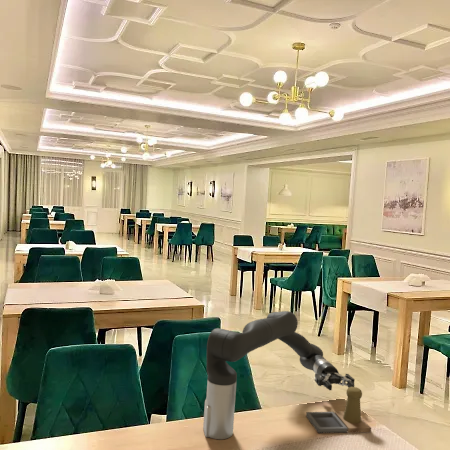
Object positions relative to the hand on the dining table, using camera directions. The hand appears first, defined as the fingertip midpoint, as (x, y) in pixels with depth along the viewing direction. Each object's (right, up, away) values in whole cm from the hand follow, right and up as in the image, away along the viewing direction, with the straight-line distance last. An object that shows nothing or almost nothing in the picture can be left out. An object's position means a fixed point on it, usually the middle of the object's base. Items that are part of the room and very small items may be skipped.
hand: (342, 387), depth 175 cm
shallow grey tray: (-8, -9, -11) cm, 16 cm away
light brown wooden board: (+1, -9, -10) cm, 13 cm away
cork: (+1, -8, -10) cm, 12 cm away
